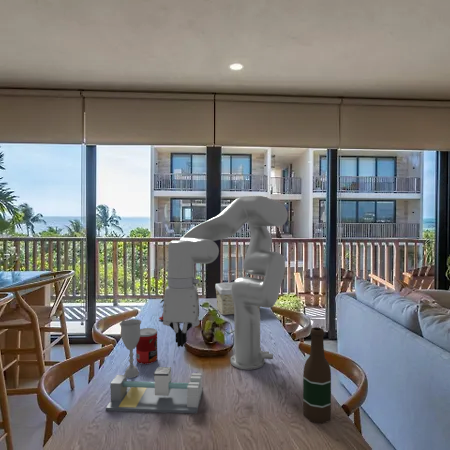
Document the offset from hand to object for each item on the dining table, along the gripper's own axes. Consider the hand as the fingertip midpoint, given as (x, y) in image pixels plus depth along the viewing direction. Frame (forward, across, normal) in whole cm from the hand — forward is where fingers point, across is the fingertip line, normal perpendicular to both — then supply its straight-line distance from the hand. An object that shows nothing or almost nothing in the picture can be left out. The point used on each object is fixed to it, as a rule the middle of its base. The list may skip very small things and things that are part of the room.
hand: (181, 344), depth 97 cm
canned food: (+17, +18, -27) cm, 37 cm away
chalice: (+17, +20, -16) cm, 31 cm away
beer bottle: (+17, -38, +4) cm, 42 cm away
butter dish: (+16, +19, -74) cm, 79 cm away
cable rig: (+17, +8, -1) cm, 19 cm away
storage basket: (+16, -14, -90) cm, 93 cm away
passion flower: (+16, +26, -97) cm, 102 cm away
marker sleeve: (+14, +6, -1) cm, 16 cm away
